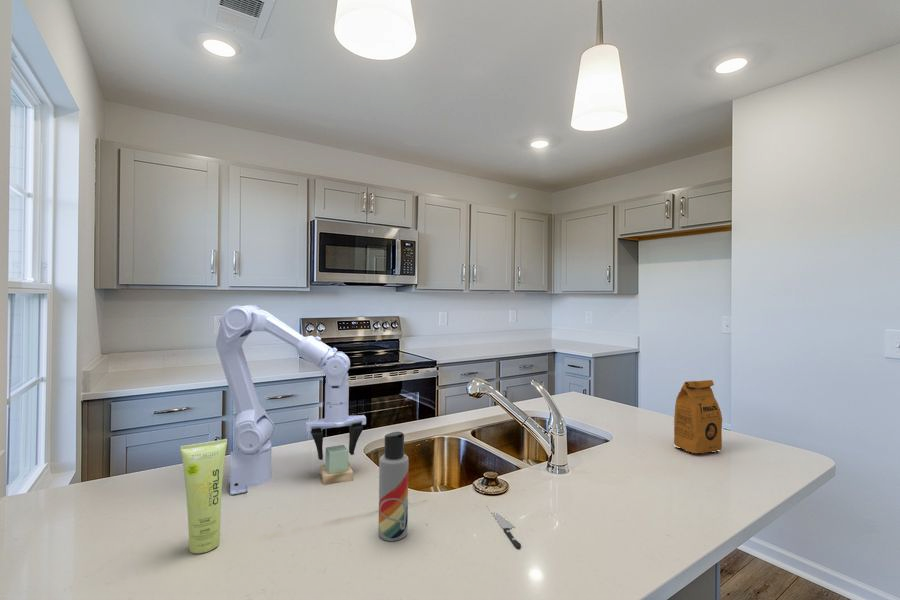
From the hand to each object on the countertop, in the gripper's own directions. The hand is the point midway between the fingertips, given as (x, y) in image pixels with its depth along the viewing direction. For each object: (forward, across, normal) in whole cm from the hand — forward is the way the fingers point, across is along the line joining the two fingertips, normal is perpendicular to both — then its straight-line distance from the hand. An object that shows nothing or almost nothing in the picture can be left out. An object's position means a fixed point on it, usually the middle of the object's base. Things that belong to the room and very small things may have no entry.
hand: (336, 456), depth 107 cm
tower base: (+7, 0, 0) cm, 7 cm away
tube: (+7, -28, -17) cm, 33 cm away
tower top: (+5, 0, 0) cm, 5 cm away
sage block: (+3, 0, 0) cm, 3 cm away
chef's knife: (+7, +28, -34) cm, 44 cm away
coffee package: (+7, +106, -25) cm, 109 cm away
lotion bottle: (+7, +5, -28) cm, 29 cm away
